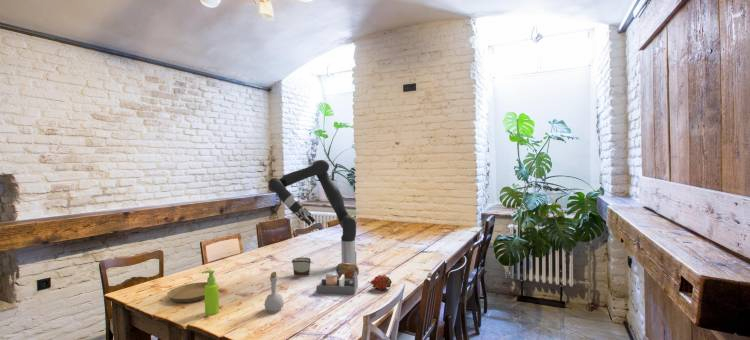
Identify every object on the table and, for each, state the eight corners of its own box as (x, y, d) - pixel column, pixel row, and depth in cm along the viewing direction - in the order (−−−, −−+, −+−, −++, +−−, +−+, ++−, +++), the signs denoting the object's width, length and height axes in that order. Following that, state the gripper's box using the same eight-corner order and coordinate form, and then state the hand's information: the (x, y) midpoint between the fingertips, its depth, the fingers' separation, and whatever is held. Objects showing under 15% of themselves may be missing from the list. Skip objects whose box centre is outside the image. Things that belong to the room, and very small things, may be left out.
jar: (334, 285, 197) (334, 271, 197) (339, 288, 192) (338, 274, 191) (324, 287, 194) (323, 273, 193) (328, 291, 188) (328, 276, 188)
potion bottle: (287, 307, 171) (286, 270, 170) (276, 315, 162) (275, 276, 162) (271, 305, 174) (271, 268, 173) (260, 312, 165) (259, 274, 165)
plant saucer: (171, 291, 194) (171, 285, 194) (219, 285, 203) (219, 279, 203) (162, 308, 172) (162, 301, 172) (216, 300, 180) (216, 294, 180)
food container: (313, 272, 222) (313, 257, 222) (311, 276, 216) (311, 260, 215) (295, 272, 223) (294, 256, 223) (291, 275, 217) (291, 259, 217)
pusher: (339, 290, 188) (339, 279, 188) (342, 285, 196) (342, 274, 196) (341, 290, 188) (341, 279, 188) (344, 285, 196) (344, 274, 196)
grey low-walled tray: (316, 293, 188) (316, 276, 188) (322, 285, 199) (321, 270, 199) (354, 294, 186) (354, 277, 186) (357, 287, 197) (357, 271, 196)
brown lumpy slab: (335, 276, 216) (335, 262, 215) (338, 274, 218) (338, 261, 218) (357, 279, 209) (356, 265, 208) (359, 278, 211) (359, 264, 211)
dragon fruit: (393, 292, 192) (371, 295, 193) (392, 279, 199) (371, 282, 200) (391, 283, 187) (369, 286, 188) (390, 270, 194) (368, 273, 194)
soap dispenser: (205, 310, 168) (204, 269, 167) (220, 309, 168) (219, 268, 168) (200, 316, 162) (199, 273, 161) (216, 315, 163) (215, 272, 162)
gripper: (293, 201, 205) (313, 220, 205) (301, 198, 220) (319, 216, 219) (285, 210, 206) (304, 229, 205) (293, 206, 220) (311, 225, 220)
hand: (312, 222), depth 212 cm, fingers open, 8 cm apart
